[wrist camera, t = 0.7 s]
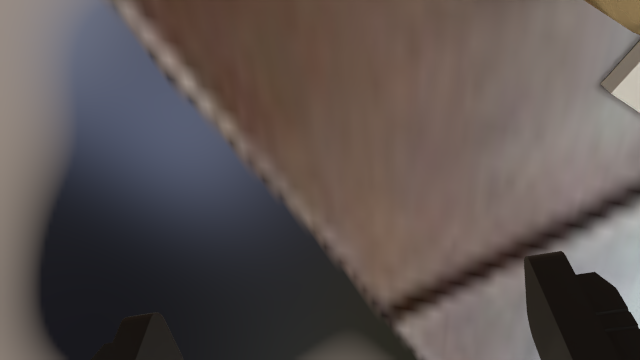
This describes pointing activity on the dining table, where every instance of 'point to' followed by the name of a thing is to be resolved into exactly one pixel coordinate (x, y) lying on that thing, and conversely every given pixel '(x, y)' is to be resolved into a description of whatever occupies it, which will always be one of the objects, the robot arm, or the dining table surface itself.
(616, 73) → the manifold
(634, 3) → the brass cylinder
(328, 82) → the dining table surface
